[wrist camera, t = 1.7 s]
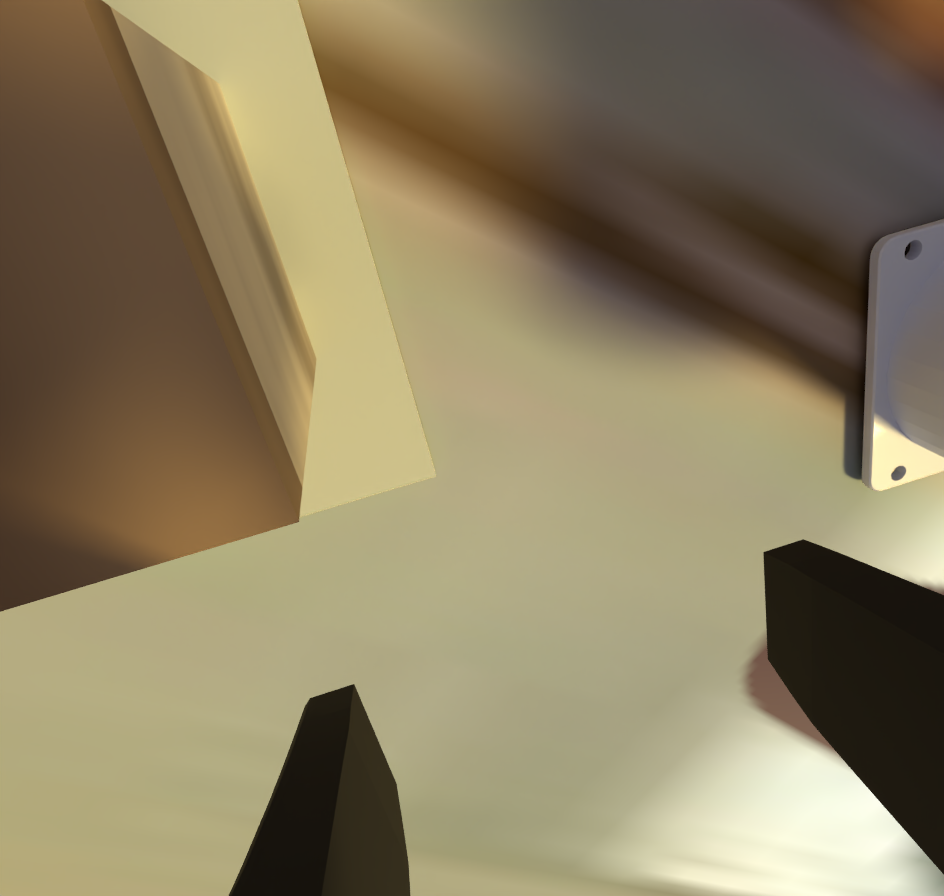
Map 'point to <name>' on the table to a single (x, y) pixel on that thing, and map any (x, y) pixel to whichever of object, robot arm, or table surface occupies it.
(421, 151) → the table surface
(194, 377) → the birch block
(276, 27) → the mat
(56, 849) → the table surface
